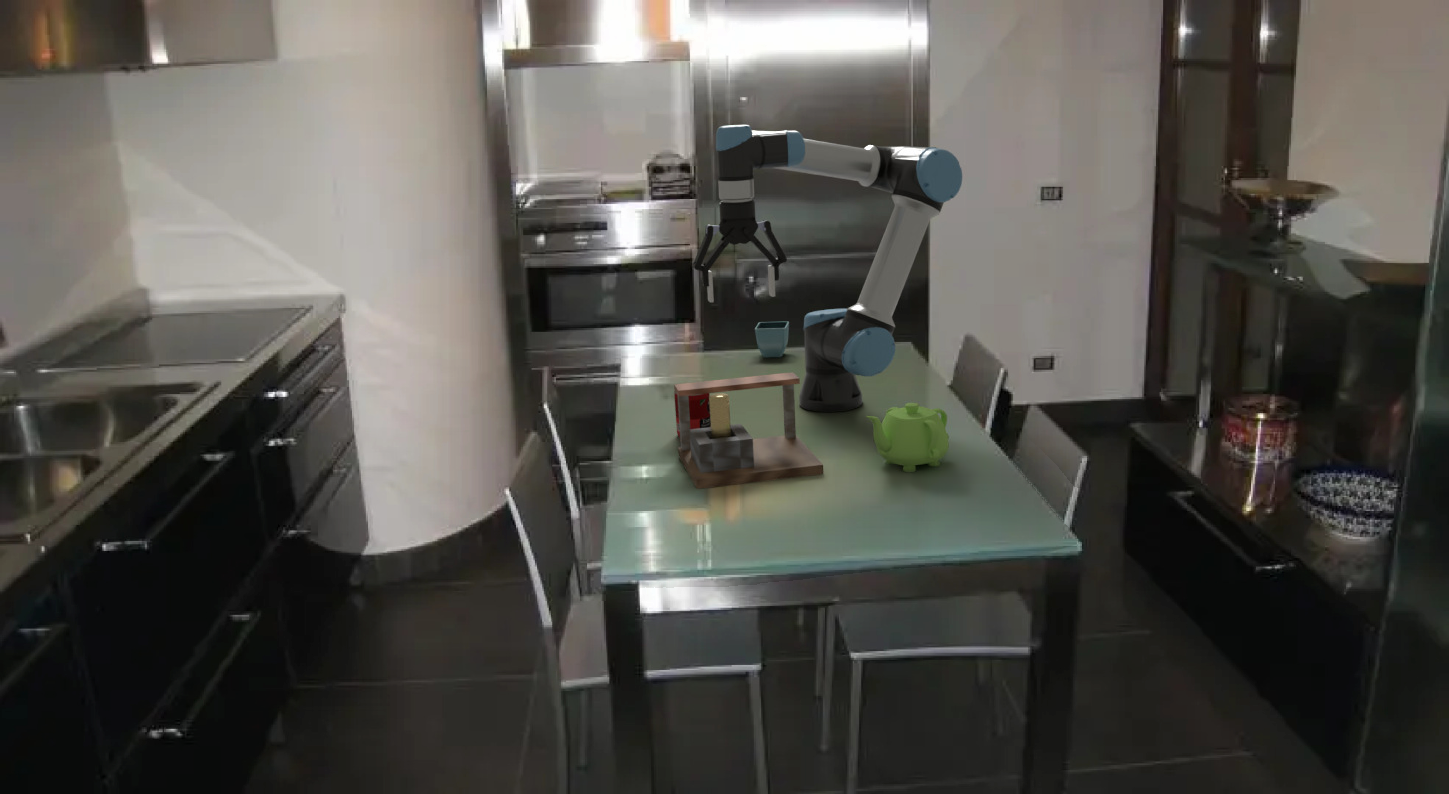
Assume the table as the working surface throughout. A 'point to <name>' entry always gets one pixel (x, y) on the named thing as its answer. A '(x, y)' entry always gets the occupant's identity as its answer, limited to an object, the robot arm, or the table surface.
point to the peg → (720, 415)
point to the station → (743, 440)
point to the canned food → (696, 411)
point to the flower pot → (772, 338)
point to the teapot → (911, 436)
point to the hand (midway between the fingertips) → (741, 298)
